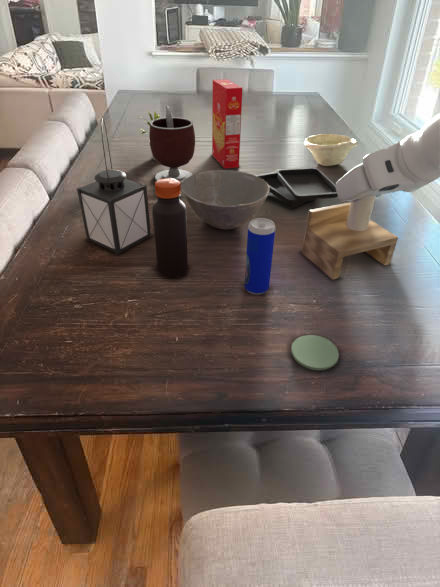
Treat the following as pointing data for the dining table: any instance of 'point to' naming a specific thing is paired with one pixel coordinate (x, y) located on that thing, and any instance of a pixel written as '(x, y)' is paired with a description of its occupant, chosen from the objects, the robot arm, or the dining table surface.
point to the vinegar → (170, 229)
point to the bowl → (329, 148)
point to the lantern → (114, 209)
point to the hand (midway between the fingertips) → (361, 196)
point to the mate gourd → (172, 145)
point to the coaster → (314, 352)
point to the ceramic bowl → (225, 196)
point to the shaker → (360, 213)
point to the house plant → (149, 124)
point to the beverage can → (259, 255)
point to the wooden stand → (343, 239)
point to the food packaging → (226, 122)
